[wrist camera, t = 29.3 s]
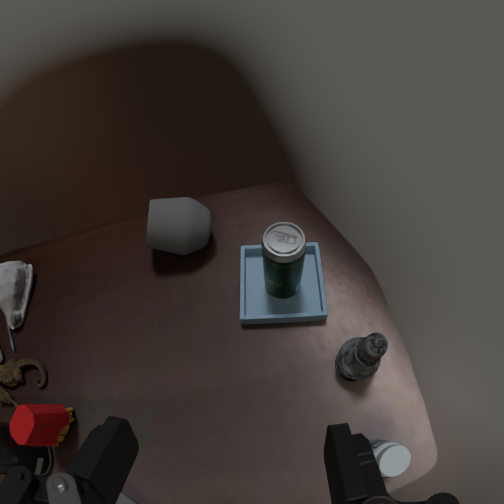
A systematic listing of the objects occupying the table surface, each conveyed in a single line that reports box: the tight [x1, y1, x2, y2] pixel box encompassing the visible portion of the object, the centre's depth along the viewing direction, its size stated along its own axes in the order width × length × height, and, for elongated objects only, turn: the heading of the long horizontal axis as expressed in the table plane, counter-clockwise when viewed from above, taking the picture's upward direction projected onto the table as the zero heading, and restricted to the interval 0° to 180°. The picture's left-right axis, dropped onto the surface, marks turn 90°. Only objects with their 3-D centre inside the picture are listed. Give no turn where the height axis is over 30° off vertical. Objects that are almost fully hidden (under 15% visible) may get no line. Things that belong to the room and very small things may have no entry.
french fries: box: [9, 404, 74, 446], centre depth 27 cm, size 8×4×12 cm, turn 153°
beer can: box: [261, 222, 306, 299], centre depth 38 cm, size 5×5×12 cm
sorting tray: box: [240, 242, 328, 324], centre depth 43 cm, size 12×12×2 cm
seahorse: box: [0, 358, 47, 408], centre depth 35 cm, size 9×16×3 cm, turn 130°
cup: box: [146, 197, 211, 255], centre depth 46 cm, size 10×9×10 cm
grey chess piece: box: [335, 333, 388, 381], centre depth 31 cm, size 6×6×12 cm
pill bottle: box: [370, 440, 411, 477], centre depth 25 cm, size 5×5×8 cm
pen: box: [5, 315, 14, 351], centre depth 42 cm, size 1×1×14 cm
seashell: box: [0, 261, 33, 329], centre depth 42 cm, size 12×14×10 cm
